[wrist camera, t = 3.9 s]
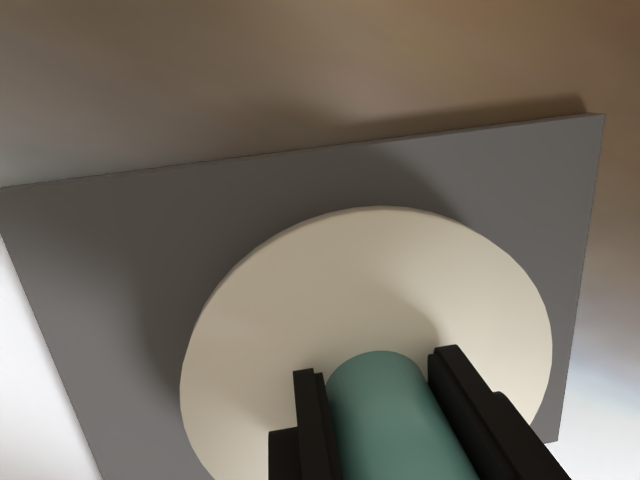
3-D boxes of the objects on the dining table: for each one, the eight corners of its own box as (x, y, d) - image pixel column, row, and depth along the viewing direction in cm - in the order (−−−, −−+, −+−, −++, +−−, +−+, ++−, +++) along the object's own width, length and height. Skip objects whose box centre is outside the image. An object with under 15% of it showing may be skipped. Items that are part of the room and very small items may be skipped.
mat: (589, 112, 12) (605, 114, 11) (547, 428, 16) (557, 441, 16) (-2, 187, 10) (-16, 193, 10) (129, 514, 15) (125, 531, 14)
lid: (550, 180, 10) (868, 284, 5) (521, 470, 14) (684, 715, 8) (142, 236, 9) (-23, 432, 4) (224, 528, 13) (193, 838, 8)
